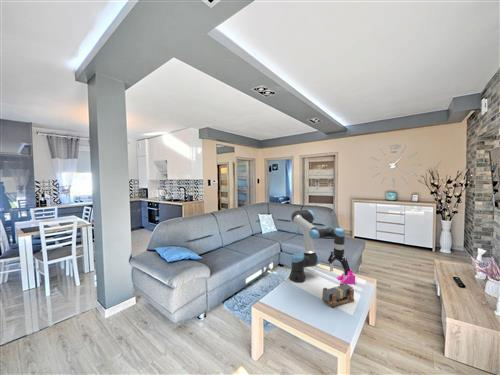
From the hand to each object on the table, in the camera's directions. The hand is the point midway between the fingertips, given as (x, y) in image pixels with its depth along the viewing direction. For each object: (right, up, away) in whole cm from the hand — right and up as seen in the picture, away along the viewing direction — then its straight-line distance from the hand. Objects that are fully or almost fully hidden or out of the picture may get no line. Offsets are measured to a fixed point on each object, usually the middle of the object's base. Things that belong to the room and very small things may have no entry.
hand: (338, 274), depth 165 cm
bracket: (+20, -19, +30) cm, 41 cm away
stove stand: (0, -21, +1) cm, 21 cm away
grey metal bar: (0, -17, +1) cm, 17 cm away
